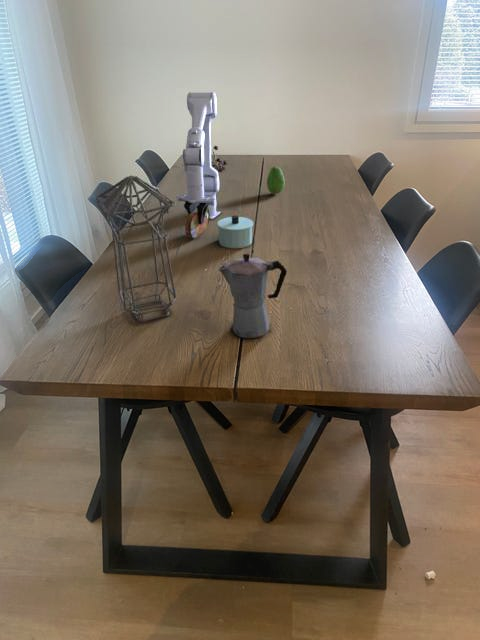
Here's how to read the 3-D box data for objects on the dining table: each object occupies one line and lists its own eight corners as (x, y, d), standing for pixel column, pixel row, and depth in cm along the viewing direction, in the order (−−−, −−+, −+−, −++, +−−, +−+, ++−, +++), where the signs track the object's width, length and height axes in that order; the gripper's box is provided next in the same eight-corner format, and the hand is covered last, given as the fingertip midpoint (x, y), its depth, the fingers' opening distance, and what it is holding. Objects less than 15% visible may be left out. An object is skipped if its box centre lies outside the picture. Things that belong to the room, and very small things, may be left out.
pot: (213, 245, 155) (213, 227, 152) (227, 233, 164) (226, 216, 161) (244, 250, 152) (244, 232, 148) (256, 238, 160) (256, 220, 157)
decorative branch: (223, 161, 229) (209, 137, 250) (213, 176, 233) (200, 152, 254) (240, 170, 236) (225, 147, 256) (231, 185, 240) (217, 160, 260)
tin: (191, 241, 157) (191, 219, 152) (183, 239, 158) (183, 217, 153) (210, 225, 169) (210, 203, 164) (202, 223, 169) (202, 202, 164)
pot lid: (211, 229, 152) (211, 220, 150) (226, 217, 161) (225, 208, 160) (245, 234, 148) (245, 225, 146) (258, 222, 158) (258, 213, 156)
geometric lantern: (126, 333, 110) (101, 190, 92) (114, 303, 123) (89, 171, 104) (187, 319, 116) (176, 180, 97) (170, 291, 128) (157, 164, 109)
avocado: (264, 195, 202) (264, 167, 195) (269, 190, 208) (270, 163, 201) (281, 197, 199) (282, 169, 193) (286, 192, 205) (287, 164, 199)
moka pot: (220, 320, 115) (217, 246, 104) (280, 316, 116) (283, 244, 105) (221, 341, 107) (219, 264, 96) (286, 338, 108) (290, 261, 97)
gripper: (170, 185, 153) (174, 224, 160) (209, 190, 148) (211, 229, 156) (180, 180, 159) (183, 217, 166) (218, 184, 154) (219, 222, 161)
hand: (197, 222), depth 161 cm, fingers closed on tin, 2 cm apart
